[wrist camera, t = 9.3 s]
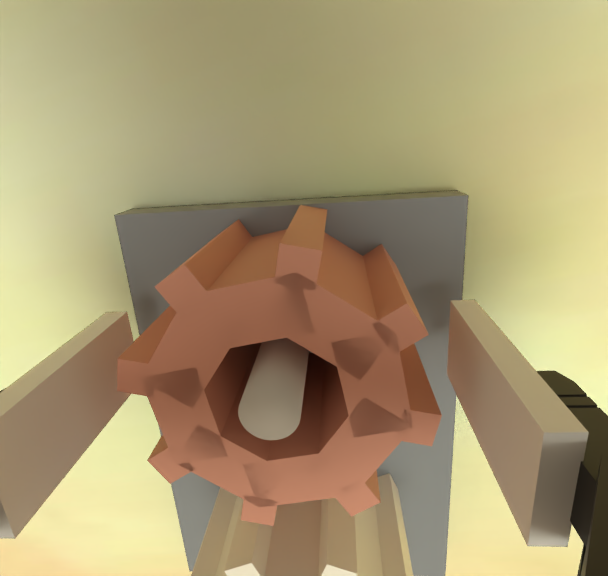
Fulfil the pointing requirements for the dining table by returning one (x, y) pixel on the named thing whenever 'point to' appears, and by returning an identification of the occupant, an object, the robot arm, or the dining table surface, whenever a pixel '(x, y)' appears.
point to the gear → (319, 376)
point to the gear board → (362, 231)
